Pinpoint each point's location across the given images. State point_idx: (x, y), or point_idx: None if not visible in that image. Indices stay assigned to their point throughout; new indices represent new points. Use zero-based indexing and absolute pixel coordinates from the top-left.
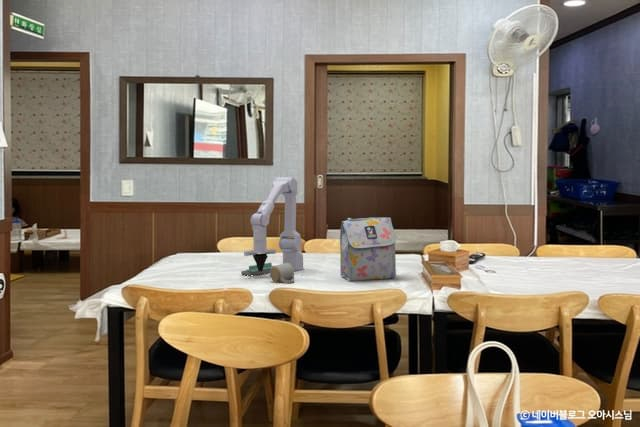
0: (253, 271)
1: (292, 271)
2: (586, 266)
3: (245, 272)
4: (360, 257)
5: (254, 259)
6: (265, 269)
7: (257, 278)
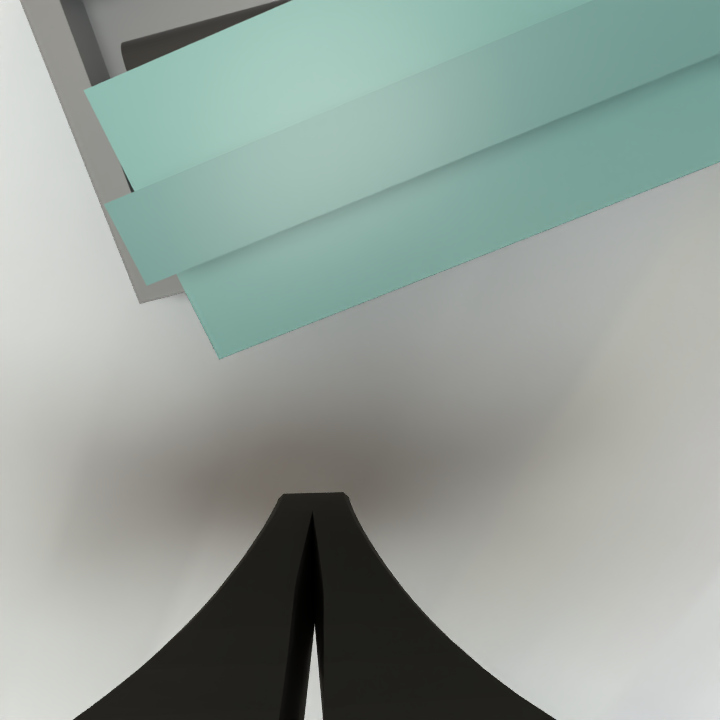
0: (222, 350)
1: None
2: None
3: (85, 142)
4: None
5: (115, 691)
6: (603, 203)
7: (231, 530)
